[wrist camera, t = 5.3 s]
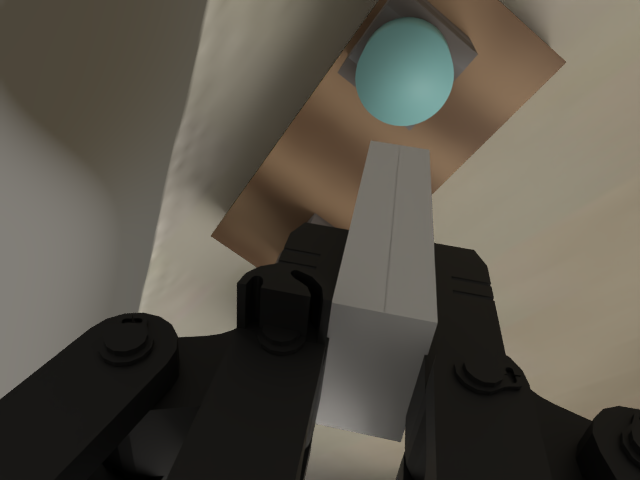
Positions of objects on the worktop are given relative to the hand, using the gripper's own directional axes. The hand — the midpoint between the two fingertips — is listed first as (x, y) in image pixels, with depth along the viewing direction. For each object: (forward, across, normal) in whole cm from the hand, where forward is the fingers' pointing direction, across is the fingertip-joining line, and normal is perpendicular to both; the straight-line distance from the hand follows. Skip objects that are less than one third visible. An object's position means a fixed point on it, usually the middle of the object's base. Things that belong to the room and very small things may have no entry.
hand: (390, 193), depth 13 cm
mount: (+24, +2, +8) cm, 26 cm away
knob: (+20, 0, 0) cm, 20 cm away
